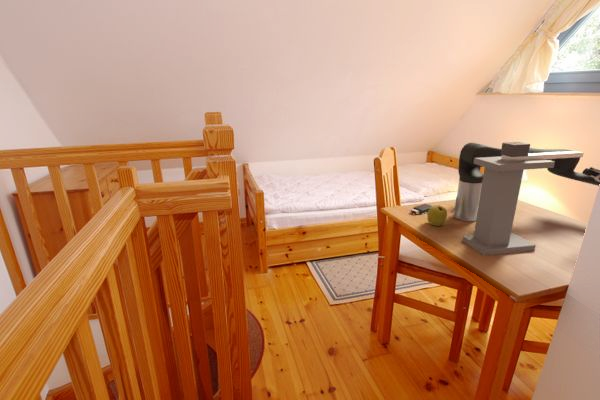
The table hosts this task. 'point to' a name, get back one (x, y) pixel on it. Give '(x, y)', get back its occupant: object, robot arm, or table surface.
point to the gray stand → (500, 206)
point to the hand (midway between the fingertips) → (594, 177)
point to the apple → (437, 215)
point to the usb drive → (421, 209)
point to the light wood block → (521, 152)
